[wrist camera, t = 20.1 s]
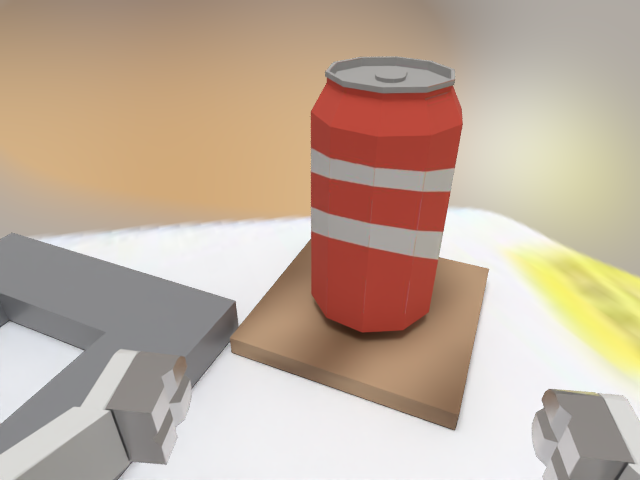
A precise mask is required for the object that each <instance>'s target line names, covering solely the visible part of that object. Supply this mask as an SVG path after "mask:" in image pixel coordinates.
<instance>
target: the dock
mask: <svg viewBox="0 0 640 480" xmlns="http://www.w3.org/2000/svg"><path fill="white" fill-rule="evenodd" d="M9 320H10V321H13V322H15V323H18V324H20V325H23V326H25V327H28V328H30V329H33V330H35V331H38V332H41V333H43V334H46V335H48V336H51V337H53V338H56V339H58V340H61V341H63V342H66V343H68V344H71V345H74V346H76V347H79V348H81V349H84V350H85V351H84V352H83V353H82V354H81V355H79V356H78V357H77V358H76V359H75V360H74V361H73V362H71V363H70V364H69V365H68V366H67V367H66V368H65V369H63V370H62V371H61V372H60V373H59V374H58V375H57V376H55V377H54V378H53V379H52V380H51V381H50V382H49V383H47V384H46V385H45V386H44V387H43V388H42V389H40V390H39V391H38V392H37V393H36V394H35V395H34V396H32V397H31V398H30V399H29V400H28V401H27V402H26V403H24V404H23V405H22V406H21V407H20V408H19V409H18V410H16V411H15V412H14V413H13V414H12V415H11V416H10V417H8V418H7V419H6V420H5V421H4V422H3V423H1V424H0V455H1V454H2V453H4V452H5V451H7V450H8V449H10V448H11V447H13V446H14V445H16V444H17V443H19V442H20V441H22V440H23V439H25V438H27V437H28V436H30V435H31V434H33V433H34V432H36V431H37V430H39V429H40V428H42V427H43V426H45V425H46V424H48V423H50V422H51V421H53V420H54V419H56V418H57V417H59V416H60V415H62V414H63V413H65V412H66V411H68V410H69V409H71V408H72V407H80V406H81V405H82V403H83V402H84V400H85V399H86V397H87V395H88V394H89V392H90V391H91V389H92V388H93V386H94V384H95V383H96V381H97V380H98V378H99V377H100V375H101V373H102V372H103V370H104V369H105V367H106V366H107V364H108V362H109V361H110V359H111V358H112V356H113V355H114V354H115V353H116V352H117V351H118V350H120V349H125V350H134V351H144V352H153V353H161V354H169V355H178V356H184V357H185V360H186V364H187V368H186V371H185V373H184V375H186V376H187V377H188V378H189V379H190V382H191V388H192V387H193V386H194V385H195V383H196V382H197V381H198V380H199V378H200V377H201V376H202V375H203V374H204V372H205V371H206V370H207V369H208V367H209V366H210V365H211V364H212V362H213V361H214V360H215V359H216V358H217V356H218V355H219V354H220V353H221V351H222V350H223V349H224V348H225V347H226V345H227V344H228V343H229V342H230V337H231V336H232V335H233V333H234V332H235V331H236V330H237V328H238V318H237V310H236V301H234V300H231V299H227V298H224V297H221V296H217V295H214V294H211V293H208V292H204V291H201V290H198V289H195V288H191V287H188V286H185V285H182V284H178V283H175V282H172V281H168V280H165V279H162V278H159V277H155V276H152V275H149V274H146V273H142V272H139V271H136V270H133V269H129V268H126V267H123V266H119V265H116V264H113V263H110V262H106V261H103V260H100V259H97V258H93V257H90V256H87V255H83V254H80V253H77V252H74V251H70V250H67V249H64V248H61V247H57V246H54V245H51V244H48V243H44V242H41V241H38V240H34V239H31V238H28V237H25V236H21V235H18V234H15V233H11V234H9V235H7V236H5V237H3V238H1V239H0V326H2V325H3V324H5V323H6V322H7V321H9ZM129 463H131V462H129ZM129 465H130V464H129ZM129 465H128V466H129ZM128 466H127V467H128ZM127 467H126V468H127ZM126 468H125V469H126ZM125 469H124V470H123V471H122V472H121V473H120V474H119V475H118V476H116V477H115V478H114V479H113V480H117V479H118V478H119V477H120V476H121V474H122V473H123V472H124V471H125Z"/></svg>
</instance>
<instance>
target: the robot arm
mask: <svg viewBox="0 0 640 480" xmlns="http://www.w3.org/2000/svg"><path fill="white" fill-rule="evenodd" d="M186 368H187V364H186V360H185V357H184V356H178V355H169V354H161V353H153V352H144V351H134V350H125V349H120V350H118V351H117V352H116V353H115V354H114V355H113V356H112V358H111V359H110V361H109V362H108V364H107V366H106V367H105V369H104V370H103V372H102V373H101V375H100V377H99V378H98V380H97V381H96V383H95V384H94V386H93V388H92V389H91V391H90V392H89V394H88V395H87V397H86V399H85V400H84V402H83V403H82V405H81V406H80V407H72V408H71V409H69V410H68V411H66V412H65V413H63V414H62V415H60V416H59V417H57V418H56V419H54V420H53V421H51V422H50V423H48V424H46V425H45V426H43V427H42V428H40V429H39V430H37V431H36V432H34V433H33V434H31V435H30V436H28V437H27V438H25V439H23V440H22V441H20V442H19V443H17V444H16V445H14V446H13V447H11V448H10V449H8V450H7V451H5V452H4V453H2V454H1V455H0V480H113V479H114V478H115V477H116V476H118V475H119V474H120V473H121V472H122V471H123V470H124V469H125V468H126V467H127V466H128V465H129V464H130V463H129V462H141V463H153V464H165V465H167V462H168V460H169V458H170V455H171V453H172V450H173V448H174V445H175V443H176V440H177V438H178V437H177V433H176V429H175V427H177V426H178V425H179V424H180V423H182V422H183V421H184V420H185V418H186V415H187V412H188V410H189V405H190V400H191V382H190V379H189V378H188V377H187V376H186V375H184V373H185V371H186ZM542 403H543V406H544V408H543V409H541V410H540V411H538V412H536V414H535V417H534V419H533V422H532V441H533V447H534V450H535V454H536V457H537V458H538V459H539V460H540V461H541V462H542V463H543V464H544V465H545V466H546V467H547V468H546V470H545V472H544V474H543V476H542V477H543V480H640V421H639V419H638V417H637V416H636V414H635V412H634V410H633V408H632V406H631V405H630V403H629V401H628V399H626V398H625V397H624V396H623V395H613V394H602V393H594V392H582V391H570V390H557V389H548V390H547V391H546V392H545V393H544V395H543V398H542Z"/></svg>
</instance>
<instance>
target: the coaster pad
mask: <svg viewBox="0 0 640 480" xmlns="http://www.w3.org/2000/svg"><path fill="white" fill-rule="evenodd" d="M488 271H489V269H487V268H483V267H479V266H474V265H470V264H466V263H461V262H457V261H453V260H449V259H444V258H440V257H439V258H438V264H437V269H436V275H435V281H434V286H433V292H432V297H431V303H430V308H429V312H428V313H427V314H426V315H424V316H423V317H421V318H420V319H418V320H417V321H416V322H414V323H413V324H411V325H410V326H408V327H407V328H406V329H404V330H399V331H381V332H363V333H362V332H360V331H357V330H355V329H352V328H350V327H348V326H345V325H343V324H340V323H338V322H336V321H333V320H331V319H328V318H326V316H325V315H324V313H323V312H322V310H321V308H320V307H319V305H318V304H317V302H316V300H315V299H314V297H313V296H312V294H311V239H310V241H309V242H308V243H307V244H306V246H305V247H304V248H303V249H302V250H301V252H300V253H299V254H298V255H297V257H296V258H295V259H294V260H293V261H292V263H291V264H290V265H289V266H288V267H287V269H286V270H285V271H284V272H283V274H282V275H281V276H280V277H279V278H278V280H277V281H276V282H275V283H274V285H273V286H272V287H271V288H270V289H269V291H268V292H267V293H266V294H265V296H264V297H263V298H262V299H261V300H260V302H259V303H258V304H257V305H256V306H255V308H254V309H253V310H252V311H251V313H250V314H249V315H248V316H247V317H246V319H245V320H244V321H243V322H242V324H241V325H240V326H239V327H238V328H237V330H236V331H235V332H234V333H233V335H232V336H231V337H230V343H231V351H232V353H235V354H238V355H241V356H244V357H247V358H249V359H252V360H255V361H258V362H261V363H264V364H267V365H269V366H272V367H275V368H278V369H281V370H284V371H287V372H290V373H292V374H295V375H298V376H301V377H304V378H307V379H310V380H312V381H315V382H318V383H321V384H324V385H327V386H330V387H333V388H335V389H338V390H341V391H344V392H347V393H350V394H353V395H356V396H358V397H361V398H364V399H367V400H370V401H373V402H376V403H378V404H381V405H384V406H387V407H390V408H393V409H396V410H399V411H401V412H404V413H407V414H410V415H413V416H416V417H419V418H421V419H424V420H427V421H430V422H433V423H436V424H439V425H442V426H444V427H447V428H450V429H453V430H455V428H456V424H457V420H458V417H459V412H460V407H461V403H462V398H463V393H464V388H465V383H466V378H467V373H468V369H469V364H470V359H471V354H472V349H473V344H474V339H475V334H476V330H477V325H478V320H479V315H480V310H481V305H482V300H483V296H484V291H485V286H486V281H487V276H488Z"/></svg>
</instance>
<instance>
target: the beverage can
mask: <svg viewBox="0 0 640 480" xmlns="http://www.w3.org/2000/svg"><path fill="white" fill-rule="evenodd" d="M325 76H326V77H327V83H326V85H325V87H324V89H323V91H322V92H321V94H320V96H319V98H318V100H317V101H316V103H315V105H314V107H313V109H312V110H311V294H312V296H313V297H314V299H315V300H316V302H317V304H318V305H319V307H320V308H321V310H322V312H323V313H324V315H325V316H326V318H328V319H331V320H333V321H336V322H338V323H340V324H343V325H345V326H348V327H350V328H352V329H355V330H357V331H360V332H362V333H363V332H381V331H399V330H404V329H406V328H407V327H408V326H410V325H411V324H413V323H414V322H416V321H417V320H418V319H420V318H421V317H423V316H424V315H426V314H427V313H428V312H429V308H430V303H431V297H432V292H433V286H434V281H435V275H436V269H437V264H438V258H439V253H440V247H441V242H442V236H443V231H444V225H445V219H446V214H447V208H448V203H449V197H450V191H451V186H452V180H453V175H454V169H455V164H456V158H457V153H458V147H459V141H460V136H461V130H462V125H463V123H462V109H461V106H460V103H459V101H458V98H457V95H456V93H455V90H454V87H453V85H454V83H455V70H454V69H452V68H449V67H447V66H444V65H441V64H438V63H436V62H433V61H427V60H420V59H412V58H403V57H358V58H352V59H347V60H342V61H337V62H333V63H332V64H331V65H330V66H329V68H328V69H327V70H326V71H325Z"/></svg>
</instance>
